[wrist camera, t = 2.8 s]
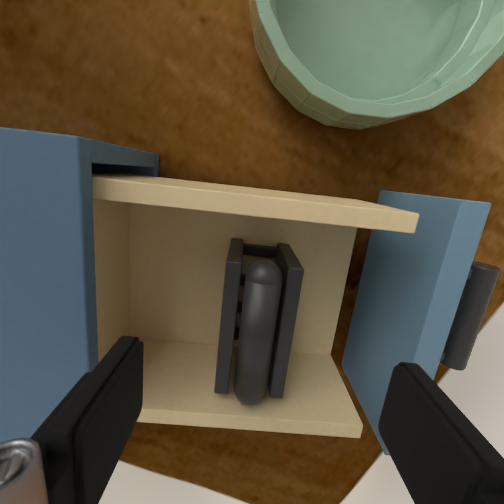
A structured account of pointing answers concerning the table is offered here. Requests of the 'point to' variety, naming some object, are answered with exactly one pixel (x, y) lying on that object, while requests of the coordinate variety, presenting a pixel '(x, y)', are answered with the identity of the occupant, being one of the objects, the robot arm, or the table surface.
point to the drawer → (310, 302)
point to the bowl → (374, 54)
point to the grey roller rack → (258, 320)
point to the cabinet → (49, 267)
